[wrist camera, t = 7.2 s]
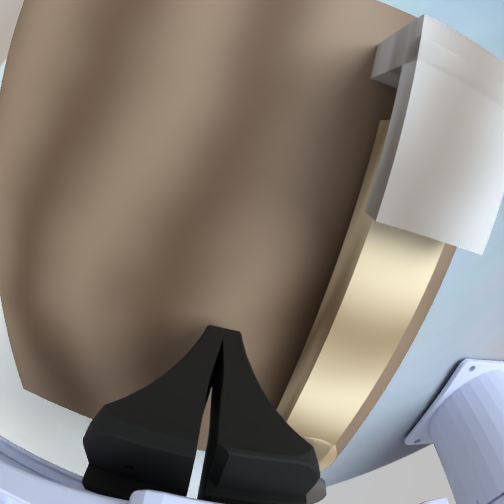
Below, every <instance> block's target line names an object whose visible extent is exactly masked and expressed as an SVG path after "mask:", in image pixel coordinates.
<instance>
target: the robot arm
mask: <svg viewBox="0 0 504 504" xmlns="http://www.w3.org/2000/svg"><path fill="white" fill-rule="evenodd" d="M211 387H212V393H211V407H210V422H209V434H208V441H207V446H206V452H205V458H204V464H203V469H202V475H201V480H200V486H199V492H198V497H197V499H193V498H188V497H186V496H187V492H188V487H189V483H190V478H191V474H192V469H193V465H194V460H195V456H196V450H197V445H198V439H199V433H200V428H201V422H202V416H203V413H204V410H205V407H206V403H207V400H208V397H209V394H210V391H211ZM432 443H434V446H435V448H436V451H437V453H438V456H439V458H440V461H441V463H442V466H443V468H444V471H445V474H446V476H447V479H448V482H449V484H450V487H451V490H452V492H453V495H454V498H455V501H456V504H504V361H492V360H478V359H465V360H463V361H462V362H461V363H460V364H459V365H458V367H457V369H456V370H455V372H454V373H453V375H452V376H451V378H450V379H449V381H448V382H447V384H446V385H445V387H444V388H443V390H442V391H441V392H440V394H439V395H438V397H437V398H436V399H435V401H434V402H433V404H432V405H431V406H430V408H429V409H428V410H427V412H426V413H425V414H424V416H423V417H422V418H421V419H420V421H419V422H418V423H417V425H416V426H415V427H414V428H413V429H412V431H411V432H410V433H409V434H408V436H407V437H406V438H405V444H406V445H419V444H432ZM83 445H84V448H85V452H86V455H87V458H88V461H89V465H88V467H87V470H86V472H85V474H84V477H82V476H80V475H77V474H75V473H72V472H70V471H68V470H65V469H63V468H61V467H59V466H57V465H54V464H52V463H50V462H48V461H46V460H44V459H42V458H40V457H38V456H36V455H34V454H32V453H30V452H28V451H26V450H25V449H23V448H21V447H19V446H17V445H16V444H14V443H12V442H10V441H9V440H7V439H5V438H3V437H2V436H0V504H307V499H306V494H307V493H308V492H309V491H310V490H311V489H312V488H313V487H314V486H315V484H316V483H317V482H318V480H319V478H320V468H319V463H318V459H317V456H316V453H315V450H314V447H313V446H312V445H311V444H310V443H308V442H307V441H306V440H305V439H304V438H302V437H301V436H300V435H299V434H298V433H297V432H295V431H294V430H293V429H292V428H291V427H290V426H289V425H288V423H287V422H286V421H285V420H284V419H283V418H282V416H281V415H280V414H279V413H278V412H277V410H276V409H275V408H274V406H273V405H272V404H271V402H270V401H269V399H268V398H267V396H266V394H265V393H264V391H263V390H262V388H261V386H260V384H259V382H258V380H257V378H256V376H255V374H254V372H253V369H252V367H251V365H250V362H249V359H248V357H247V354H246V351H245V347H244V344H243V339H242V334H241V333H240V331H236V330H231V329H227V328H222V327H218V326H213V325H208V326H207V327H206V329H205V331H204V332H203V334H202V335H201V337H200V338H199V340H198V341H197V342H196V343H195V345H194V346H193V347H192V348H191V349H190V351H189V352H188V353H187V354H186V355H185V356H184V357H183V358H182V359H181V360H180V361H179V362H178V363H177V364H176V365H174V366H173V367H172V368H171V369H170V370H169V371H167V372H166V373H165V374H163V375H162V376H161V377H159V378H158V379H156V380H155V381H153V382H152V383H150V384H149V385H147V386H146V387H144V388H142V389H140V390H138V391H136V392H134V393H132V394H130V395H128V396H126V397H124V398H121V399H119V400H116V401H114V402H111V403H108V404H105V405H104V406H103V407H102V408H101V409H100V411H99V412H98V413H97V414H96V416H95V417H94V419H93V420H92V422H91V423H90V425H89V427H88V429H87V431H86V433H85V436H84V438H83ZM420 504H449V503H448V500H447V498H446V497H444V498H439V499H434V500H429V501H426V502H423V503H420Z"/></svg>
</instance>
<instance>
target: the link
mask: <svg viewBox="0 0 504 504" xmlns="http://www.w3.org/2000/svg"><path fill="white" fill-rule="evenodd" d="M389 123H390V120H380V123H379V127H378V131H377V135H376V138H375V142H374V146H373V149H372V153H371V156H370V160H369V163H368V167H367V170H366V174H365V177H364V180H363V184H362V187H361V190H360V194H359V197H358V200H357V203H356V206H355V210H354V213H353V216H352V219H351V222H350V225H349V228H348V231H347V234H346V237H345V240H344V243H343V246H342V249H341V252H340V254H339V257H338V260H337V263H336V266H335V269H334V271H333V274H332V277H331V280H330V282H329V285H328V288H327V290H326V293H325V296H324V298H323V301H322V304H321V306H320V309H319V311H318V314H317V316H316V319H315V322H314V324H313V327H312V329H311V332H310V334H309V336H308V339H307V341H306V344H305V346H304V349H303V351H302V353H301V356H300V358H299V360H298V363H297V365H296V367H295V370H294V372H293V374H292V377H291V379H290V381H289V383H288V386H287V388H286V390H285V392H284V395H283V397H282V399H281V401H280V403H279V406H278V408H277V412H278V413H279V414H280V415H281V416H282V418H283V419H284V420H285V421H286V422H287V423H288V425H289V426H290V427H291V428H292V429H293V430H294V431H295V432H297V433H298V434H299V435H300V436H301V437H302V438H304V439H305V440H306V441H307V442H308V443H310V444H311V445H312V446H313V447H314V450H315V453H316V456H317V459H318V463H319V468H320V471H322V470H324V469H326V468H327V467H329V466H330V465H331V464H332V463H333V462H334V461H335V459H336V456H337V450H336V445H335V443H336V442H337V441H338V439H339V438H340V436H341V435H342V434H343V432H344V431H345V429H346V428H347V427H348V425H349V424H350V422H351V421H352V419H353V418H354V416H355V415H356V414H357V412H358V411H359V409H360V407H361V406H362V404H363V403H364V401H365V400H366V398H367V397H368V395H369V394H370V392H371V390H372V389H373V387H374V386H375V384H376V382H377V381H378V379H379V377H380V376H381V374H382V372H383V371H384V369H385V367H386V365H387V364H388V362H389V360H390V358H391V357H392V355H393V353H394V351H395V350H396V348H397V346H398V344H399V342H400V340H401V338H402V337H403V335H404V333H405V331H406V329H407V327H408V325H409V323H410V321H411V319H412V317H413V315H414V313H415V311H416V309H417V307H418V305H419V303H420V301H421V298H422V296H423V294H424V292H425V290H426V288H427V285H428V283H429V281H430V279H431V276H432V274H433V272H434V269H435V267H436V265H437V262H438V260H439V257H440V255H441V252H442V250H443V247H444V245H445V243H444V242H441V241H438V240H435V239H432V238H429V237H426V236H423V235H420V234H416V233H413V232H410V231H407V230H403V229H400V228H397V227H394V226H390V225H387V224H383V223H380V222H377V221H375V220H374V219H373V218H371V217H370V216H369V215H368V214H367V213H366V212H365V209H366V206H367V202H368V199H369V196H370V193H371V189H372V186H373V183H374V179H375V176H376V172H377V169H378V165H379V162H380V158H381V154H382V151H383V147H384V143H385V139H386V135H387V131H388V127H389ZM325 496H326V486H325V481H324V480H323V479H321V478H319V480H318V482H317V483H316V484H315V486H314V487H313V488H312V489H311V490H310V491H309V492H308V493H307V494H306V499H307V504H314V503H316V502H318V501H320V500H322V499H323V498H324V497H325Z"/></svg>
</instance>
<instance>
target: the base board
mask: <svg viewBox="0 0 504 504" xmlns="http://www.w3.org/2000/svg"><path fill="white" fill-rule="evenodd" d="M380 120H390V123H389V127H388V131H387V135H386V139H385V143H384V147H383V151H382V154H381V158H380V162H379V165H378V169H377V172H376V176H375V179H374V183H373V186H372V189H371V193H370V196H369V199H368V202H367V206H366V209H365V212H366V213H367V214H368V215H369V216H370V217H371V218H373V219H374V220H375V221H377V222H380V223H383V224H387V225H390V226H394V227H397V228H400V229H403V230H407V231H410V232H413V233H416V234H420V235H423V236H426V237H429V238H432V239H435V240H438V241H441V242H444V243H445V245H444V247H443V250H442V252H441V255H440V257H439V260H438V262H437V265H436V267H435V269H434V272H433V274H432V276H431V279H430V281H429V283H428V285H427V288H426V290H425V292H424V294H423V296H422V298H421V301H420V303H419V305H418V307H417V309H416V311H415V313H414V315H413V317H412V319H411V321H410V323H409V325H408V327H407V329H406V331H405V333H404V335H403V337H402V338H401V340H400V342H399V344H398V346H397V348H396V350H395V351H394V353H393V355H392V357H391V358H390V360H389V362H388V364H387V365H386V367H385V369H384V371H383V372H382V374H381V376H380V377H379V379H378V381H377V382H376V384H375V386H374V387H373V389H372V390H371V392H370V394H369V395H368V397H367V398H366V400H365V401H364V403H363V404H362V406H361V407H360V409H359V411H358V412H357V414H356V415H355V416H354V418H353V419H352V421H351V422H350V424H349V425H348V427H347V428H346V429H345V431H344V432H343V434H342V435H341V436H340V438H339V439H338V441H337V442H336V443H335V445H336V450H337V456H336V458H337V457H338V455H339V454H340V453H341V452H342V450H343V449H344V448H345V446H346V445H347V444H348V442H349V441H350V440H351V438H352V437H353V436H354V434H355V433H356V432H357V430H358V429H359V427H360V426H361V425H362V423H363V422H364V420H365V419H366V417H367V416H368V415H369V413H370V412H371V410H372V409H373V407H374V406H375V404H376V403H377V401H378V400H379V398H380V397H381V395H382V393H383V392H384V390H385V389H386V387H387V385H388V384H389V382H390V381H391V379H392V377H393V376H394V374H395V372H396V371H397V369H398V367H399V366H400V364H401V362H402V360H403V359H404V357H405V355H406V353H407V352H408V350H409V348H410V346H411V344H412V343H413V341H414V339H415V337H416V335H417V333H418V331H419V329H420V327H421V326H422V324H423V322H424V320H425V318H426V316H427V314H428V312H429V310H430V307H431V305H432V303H433V301H434V299H435V297H436V295H437V293H438V290H439V288H440V286H441V284H442V281H443V279H444V277H445V274H446V272H447V270H448V267H449V265H450V263H451V260H452V258H453V255H454V253H455V250H456V247H459V248H462V249H465V250H468V251H471V252H474V253H477V254H480V255H482V254H483V252H484V249H485V247H486V244H487V241H488V239H489V236H490V233H491V230H492V227H493V225H494V222H495V219H496V216H497V213H498V209H499V206H500V203H501V200H502V196H503V193H504V62H503V61H502V60H500V59H499V58H498V57H496V56H495V55H493V54H492V53H490V52H489V51H487V50H486V49H484V48H483V47H481V46H480V45H478V44H477V43H475V42H473V41H472V40H470V39H469V38H467V37H465V36H464V35H462V34H460V33H459V32H457V31H455V30H453V29H452V28H450V27H448V26H446V25H444V24H443V23H441V22H439V21H437V20H435V19H433V18H431V17H429V16H427V15H425V14H424V15H422V16H421V17H419V18H417V17H414V16H412V15H410V14H408V13H406V12H404V11H401V10H399V9H397V8H394V7H392V6H389V5H387V4H385V3H382V2H380V1H377V0H24V3H23V6H22V9H21V12H20V15H19V18H18V21H17V24H16V27H15V31H14V34H13V37H12V41H11V45H10V49H9V53H8V57H7V61H6V65H5V70H4V75H3V80H2V85H1V90H0V296H1V302H2V307H3V313H4V318H5V322H6V327H7V331H8V336H9V340H10V344H11V348H12V352H13V355H14V359H15V362H16V366H17V369H18V373H19V376H20V379H21V382H22V385H23V388H24V389H26V390H28V391H30V392H32V393H34V394H36V395H38V396H40V397H42V398H44V399H47V400H49V401H51V402H53V403H55V404H58V405H60V406H62V407H65V408H67V409H69V410H72V411H74V412H77V413H79V414H82V415H84V416H87V417H89V418H92V419H94V417H95V416H96V414H97V413H98V412H99V411H100V409H101V408H102V407H103V406H104V405H105V404H108V403H111V402H114V401H116V400H119V399H121V398H124V397H126V396H128V395H130V394H132V393H134V392H136V391H138V390H140V389H142V388H144V387H146V386H147V385H149V384H150V383H152V382H153V381H155V380H156V379H158V378H159V377H161V376H162V375H163V374H165V373H166V372H167V371H169V370H170V369H171V368H172V367H173V366H174V365H176V364H177V363H178V362H179V361H180V360H181V359H182V358H183V357H184V356H185V355H186V354H187V353H188V352H189V351H190V349H191V348H192V347H193V346H194V345H195V343H196V342H197V341H198V340H199V338H200V337H201V335H202V334H203V332H204V331H205V329H206V327H207V326H208V325H213V326H218V327H222V328H227V329H231V330H236V331H240V333H241V334H242V339H243V344H244V347H245V351H246V354H247V357H248V359H249V362H250V365H251V367H252V369H253V372H254V374H255V376H256V378H257V380H258V382H259V384H260V386H261V388H262V390H263V391H264V393H265V394H266V396H267V398H268V399H269V401H270V402H271V404H272V405H273V406H274V408H275V409H276V410H277V408H278V406H279V403H280V401H281V399H282V397H283V395H284V392H285V390H286V388H287V386H288V383H289V381H290V379H291V377H292V374H293V372H294V370H295V367H296V365H297V363H298V360H299V358H300V356H301V353H302V351H303V349H304V346H305V344H306V341H307V339H308V336H309V334H310V332H311V329H312V327H313V324H314V322H315V319H316V316H317V314H318V311H319V309H320V306H321V304H322V301H323V298H324V296H325V293H326V290H327V288H328V285H329V282H330V280H331V277H332V274H333V271H334V269H335V266H336V263H337V260H338V257H339V254H340V252H341V249H342V246H343V243H344V240H345V237H346V234H347V231H348V228H349V225H350V222H351V219H352V216H353V213H354V210H355V206H356V203H357V200H358V197H359V194H360V190H361V187H362V184H363V180H364V177H365V174H366V170H367V167H368V163H369V160H370V156H371V153H372V149H373V146H374V142H375V138H376V135H377V131H378V127H379V123H380ZM211 393H212V387H211V391H210V394H209V397H208V400H207V403H206V407H205V410H204V413H203V416H202V422H201V428H200V433H199V439H198V445H197V449H198V450H203V451H206V446H207V441H208V434H209V422H210V407H211Z"/></svg>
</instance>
